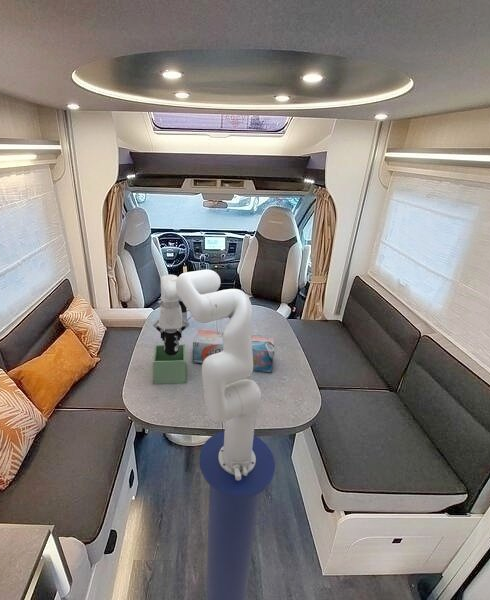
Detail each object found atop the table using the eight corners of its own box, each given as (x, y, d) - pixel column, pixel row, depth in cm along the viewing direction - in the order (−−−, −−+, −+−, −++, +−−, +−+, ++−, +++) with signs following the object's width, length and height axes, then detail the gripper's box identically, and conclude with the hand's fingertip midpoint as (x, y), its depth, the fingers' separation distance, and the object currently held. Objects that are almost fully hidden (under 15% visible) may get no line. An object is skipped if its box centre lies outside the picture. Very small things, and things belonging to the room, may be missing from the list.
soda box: (191, 363, 159) (191, 341, 154) (196, 349, 172) (197, 328, 167) (272, 373, 153) (275, 351, 148) (272, 358, 166) (274, 336, 161)
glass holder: (172, 322, 201) (172, 301, 195) (194, 320, 205) (194, 299, 199) (175, 328, 193) (174, 306, 187) (197, 326, 197) (197, 304, 191)
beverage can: (171, 357, 140) (171, 334, 136) (161, 352, 144) (160, 329, 139) (181, 351, 145) (181, 328, 140) (171, 347, 149) (170, 324, 144)
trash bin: (185, 382, 145) (185, 361, 141) (153, 383, 144) (152, 362, 140) (185, 364, 159) (184, 344, 154) (156, 365, 158) (155, 345, 153)
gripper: (149, 307, 131) (151, 344, 138) (190, 306, 132) (190, 343, 139) (150, 300, 138) (152, 335, 144) (190, 299, 139) (190, 334, 146)
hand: (171, 339), depth 142 cm, fingers closed on beverage can, 6 cm apart
